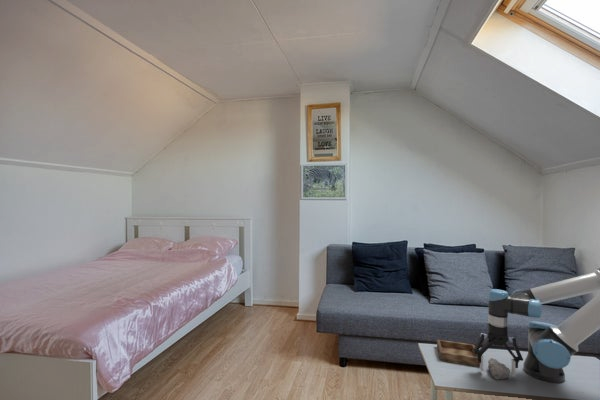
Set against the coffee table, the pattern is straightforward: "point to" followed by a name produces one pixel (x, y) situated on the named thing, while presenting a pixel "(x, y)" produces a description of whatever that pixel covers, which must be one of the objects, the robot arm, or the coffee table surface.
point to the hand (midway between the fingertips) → (497, 372)
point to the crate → (457, 353)
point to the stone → (498, 369)
